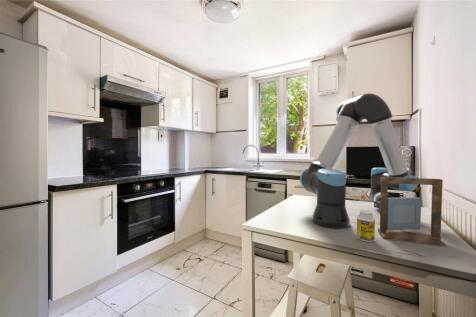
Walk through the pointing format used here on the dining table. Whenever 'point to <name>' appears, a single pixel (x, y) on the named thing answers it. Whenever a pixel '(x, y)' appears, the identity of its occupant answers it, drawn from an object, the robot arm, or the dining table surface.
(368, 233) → the supplement bottle
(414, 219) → the panel
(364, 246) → the dining table surface
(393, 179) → the gate frame
